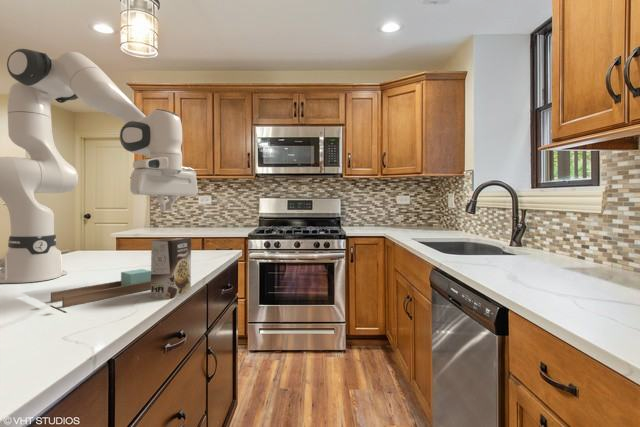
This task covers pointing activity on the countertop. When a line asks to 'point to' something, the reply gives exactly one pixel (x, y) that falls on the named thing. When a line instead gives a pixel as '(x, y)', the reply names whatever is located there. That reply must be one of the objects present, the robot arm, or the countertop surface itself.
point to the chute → (96, 293)
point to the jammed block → (135, 277)
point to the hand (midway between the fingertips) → (166, 210)
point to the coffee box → (170, 267)
